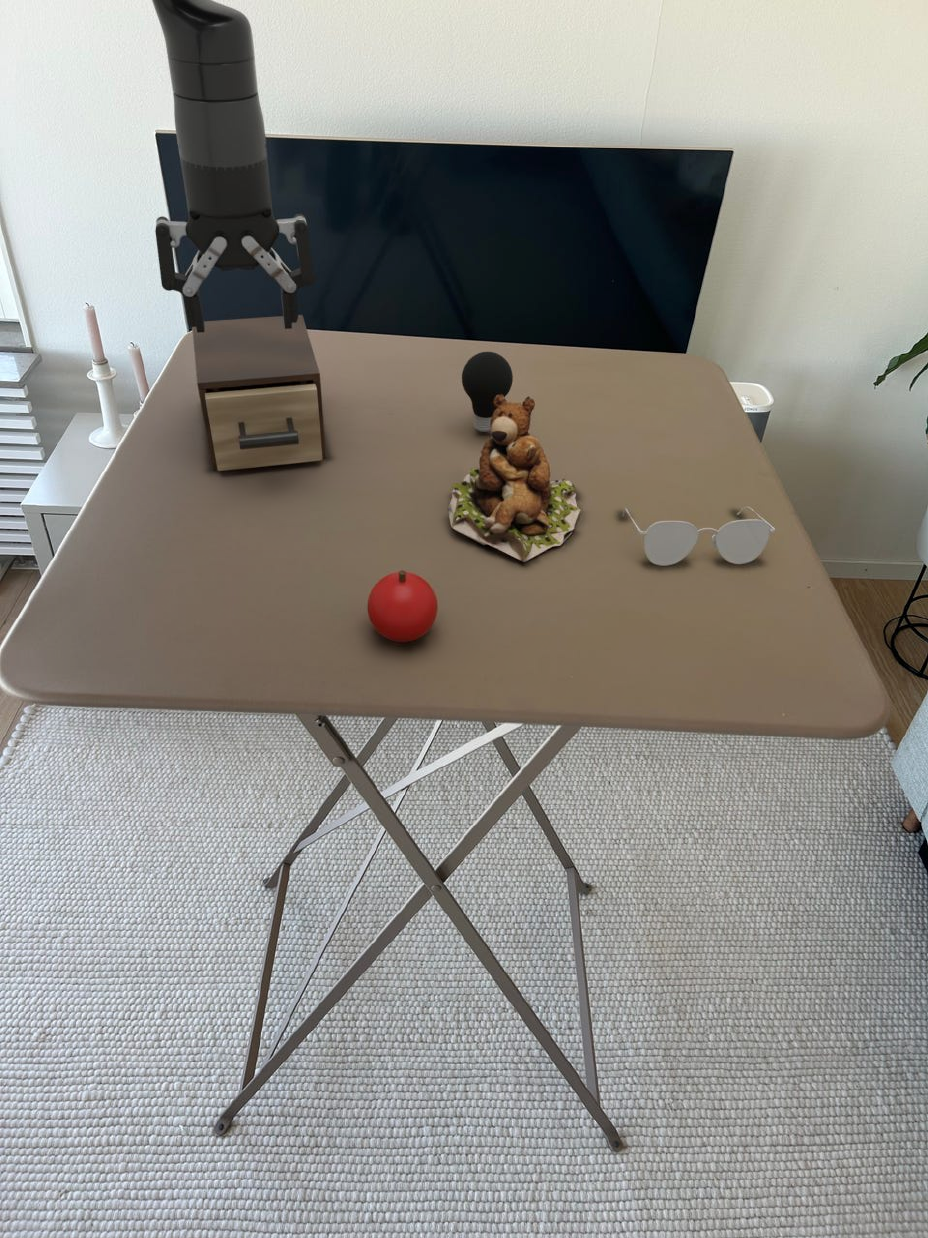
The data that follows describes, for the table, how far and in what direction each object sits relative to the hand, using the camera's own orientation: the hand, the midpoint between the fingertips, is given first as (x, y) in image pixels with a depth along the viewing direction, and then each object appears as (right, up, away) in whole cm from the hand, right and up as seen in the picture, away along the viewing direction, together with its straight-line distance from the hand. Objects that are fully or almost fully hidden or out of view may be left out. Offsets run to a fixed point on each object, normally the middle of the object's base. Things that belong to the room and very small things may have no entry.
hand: (245, 327), depth 88 cm
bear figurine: (+27, -18, +6) cm, 33 cm away
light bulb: (+24, -7, +18) cm, 31 cm away
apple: (+16, -30, -8) cm, 36 cm away
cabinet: (-2, -7, +16) cm, 17 cm away
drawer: (-1, -9, +12) cm, 15 cm away
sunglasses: (+46, -21, +4) cm, 50 cm away
